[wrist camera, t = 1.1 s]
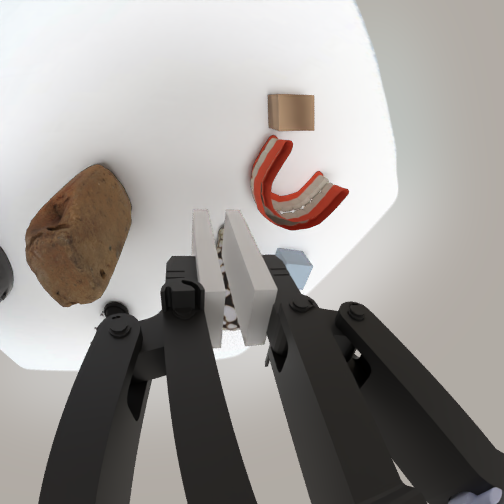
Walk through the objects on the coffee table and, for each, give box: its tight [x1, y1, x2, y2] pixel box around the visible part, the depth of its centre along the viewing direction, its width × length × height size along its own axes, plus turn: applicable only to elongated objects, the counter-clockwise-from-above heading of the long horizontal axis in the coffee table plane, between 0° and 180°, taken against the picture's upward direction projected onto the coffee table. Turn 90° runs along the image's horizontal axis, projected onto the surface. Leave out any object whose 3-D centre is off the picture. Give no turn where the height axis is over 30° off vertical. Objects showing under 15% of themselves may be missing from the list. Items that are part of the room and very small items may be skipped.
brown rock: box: [25, 164, 131, 307], centre depth 28 cm, size 11×8×20 cm
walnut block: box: [268, 94, 314, 131], centre depth 34 cm, size 5×5×5 cm
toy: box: [251, 135, 349, 230], centre depth 38 cm, size 12×10×8 cm
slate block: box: [275, 248, 313, 290], centre depth 48 cm, size 5×5×5 cm
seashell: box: [216, 228, 241, 331], centre depth 44 cm, size 16×13×10 cm
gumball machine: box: [90, 302, 128, 344], centre depth 43 cm, size 7×6×10 cm
